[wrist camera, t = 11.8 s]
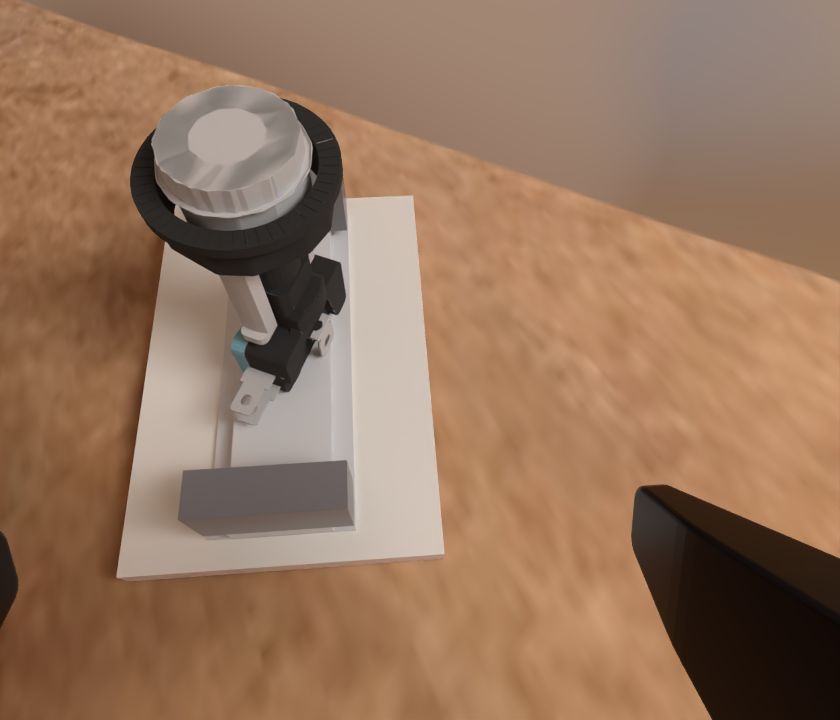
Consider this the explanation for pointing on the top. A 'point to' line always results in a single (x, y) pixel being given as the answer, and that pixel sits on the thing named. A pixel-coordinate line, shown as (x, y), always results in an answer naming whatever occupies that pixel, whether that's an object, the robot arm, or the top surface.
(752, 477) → the top surface
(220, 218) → the push button
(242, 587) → the top surface
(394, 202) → the rail board
